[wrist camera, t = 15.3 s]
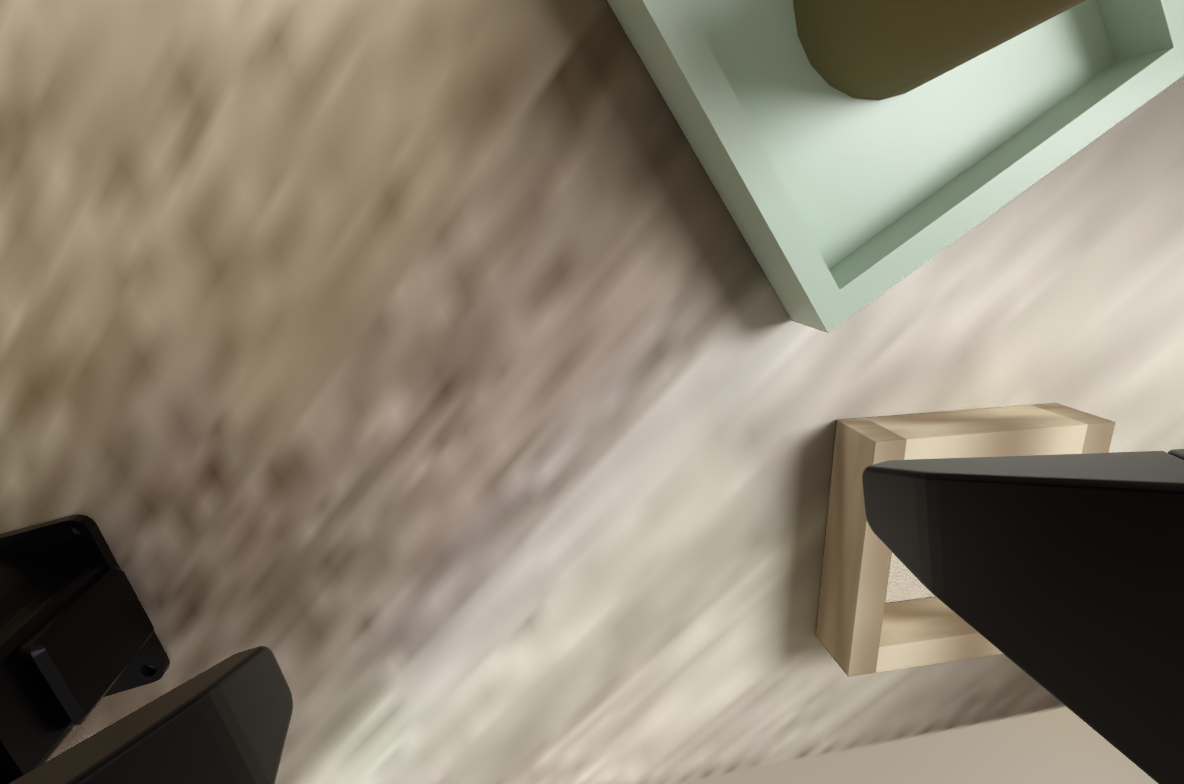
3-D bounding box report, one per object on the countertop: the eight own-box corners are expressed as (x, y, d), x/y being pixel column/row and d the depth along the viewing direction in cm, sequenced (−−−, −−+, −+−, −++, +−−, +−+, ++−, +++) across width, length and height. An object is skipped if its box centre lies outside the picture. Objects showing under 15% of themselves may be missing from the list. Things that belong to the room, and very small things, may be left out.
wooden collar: (815, 636, 27) (848, 676, 24) (837, 419, 24) (875, 442, 22) (1015, 608, 28) (1063, 644, 26) (1056, 403, 26) (1115, 422, 23)
